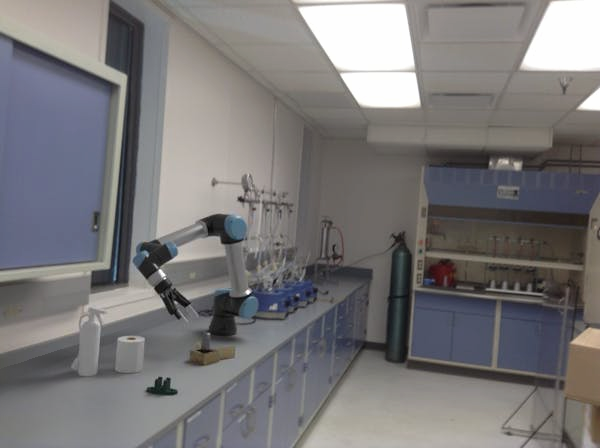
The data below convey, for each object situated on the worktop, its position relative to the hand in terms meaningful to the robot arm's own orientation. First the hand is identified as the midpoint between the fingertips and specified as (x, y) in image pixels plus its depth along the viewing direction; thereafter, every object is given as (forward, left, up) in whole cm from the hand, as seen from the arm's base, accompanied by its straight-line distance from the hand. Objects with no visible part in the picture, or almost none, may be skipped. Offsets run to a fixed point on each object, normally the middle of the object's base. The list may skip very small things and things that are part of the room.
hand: (191, 321), depth 225 cm
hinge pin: (-4, +5, -16) cm, 18 cm away
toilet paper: (+27, -3, -17) cm, 32 cm away
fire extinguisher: (+42, -8, -17) cm, 46 cm away
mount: (+33, +25, -17) cm, 45 cm away
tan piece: (-9, +1, -16) cm, 19 cm away
